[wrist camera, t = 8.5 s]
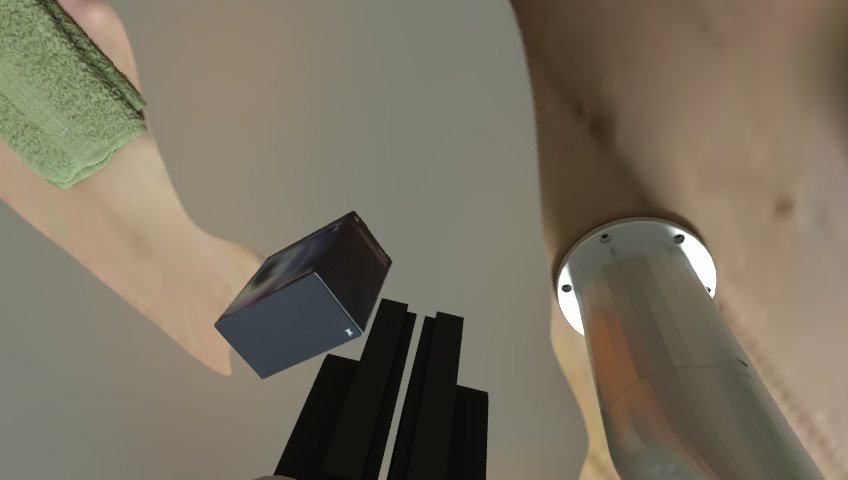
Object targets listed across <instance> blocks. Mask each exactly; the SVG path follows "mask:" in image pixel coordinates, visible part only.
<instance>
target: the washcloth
mask: <svg viewBox="0 0 848 480" xmlns="http://www.w3.org/2000/svg"><path fill="white" fill-rule="evenodd" d="M141 97H142V95H141V94H139V93H138V92H137V91H135V90H134V89H133V88H132V85H130V84H129V83H128V82H127V80H126V79H125V78H124V77H123V76H122V75H120V74H119V73H118V71H116V70H115V68H114V66H113V65H112V64H111V63H110V62H109V61H108V59H107V58H106V57H105V56H103V55H102V53H101V52H100V51H98V50H97V48H96V47H95V46H93V45H92V42H91V41H90V39H89V38H88V37H87V36H85V35H84V33H83V32H82V31H81V29H79V28H78V27H77V25H76V24H74V23H73V21H72V20H71V19H70V18H69V17H68V16H67V15H65V13H64V12H63V11H62V10H61V9H60V8H59V7H58V4H57V3H55V2H54V1H52V0H0V137H1V138H2V139H3V140H4V142H5V143H6V144H7V145H8V146H10V148H11V149H12V150H13V151H14V152H15V153H16V154H17V155H18V156H19V157H20V159H21V160H22V161H23V162H24V163H25V164H26V165H27V166H28V167H30V168H31V169H32V170H33V171H34V172H35V173H37V174H38V175H40V176H42V177H43V178H45V179H46V180H47V181H48V182H49V183H52V184H53V185H54V186H57V187H58V188H61V189H64V190H66V189H67V188H69V187H70V186H72V185H74V183H76V182H77V181H79V180H80V179H83V178H85V177H87V176H88V175H90V174H92V173H94V172H96V171H98V170H99V169H101V168H102V167H104V166H105V164H106V163H108V162H109V160H110V159H111V158H112V156H113V154H114V152H115V151H116V150H118V149H120V148H121V147H122V146H124V145H125V144H126V143H128V142H129V141H131V140H132V139H133V138H135V137H137V136H139V135H141V134H142V133H144V132H146V131H147V127H146V126H145V125H144V124H143V123H144V122H145V121H144V118H143V117H142V116H141V115H140V114H138V113H137V112H138V111H140V110H141V109H142V108H145V107H147V104H146V102H145V101H144V100H143V99H142V98H141Z"/></svg>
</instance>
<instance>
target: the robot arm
mask: <svg viewBox="0 0 848 480" xmlns="http://www.w3.org/2000/svg"><path fill="white" fill-rule="evenodd" d="M604 234H607V235H605V236H602V235H604ZM676 235H677V236H676ZM716 283H717V275H716V267H715V264H714V261H713V258H712V256H711V254H710V253H709V251H708V250H707V248H706V246H705V245H704V244H703V243H702V242H701V240H700V239H699V238H698V237H697V236H696V235H695V234H693V233H692V232H691V231H689V230H688V229H687V228H685V227H683V226H681V225H679V224H677V223H674V222H672V221H668V220H664V219H660V218H654V217H631V218H624V219H620V220H616V221H612V222H609V223H606V224H604V225H602V226H599V227H597V228H595V229H593V230H592V231H590V232H589V233H587V234H586V235H584V236H583V237H582V238H580V239H579V240H578V241H577V242H576V243H575V244H574V245H573V246H572V247H571V248H570V250H569V251H568V252H567V254H566V255H565V256H564V258H563V261H562V263H561V265H560V267H559V270H558V274H557V278H556V293H557V298H558V303H559V306H560V309H561V311H562V314H563V315H564V317H565V318H566V320H567V321H568V323H569V324H570V325H571V326H572V327H573V328H574V329H575V330H576V331H578V332H579V333H581V334H582V335H584V337H585V342H586V346H587V351H588V356H589V360H590V365H591V370H592V375H593V379H594V384H595V389H596V394H597V398H598V403H599V408H600V412H601V417H602V422H603V427H604V431H605V436H606V440H607V445H608V450H609V453H610V457H611V460H612V463H613V465H614V468H615V470H616V472H617V474H618V476H619V477H620V479H621V480H826V479H825V478H824V476H823V475H822V474H821V472H820V471H819V469H818V467H817V466H816V464H815V463H814V461H813V460H812V458H811V457H810V455H809V454H808V452H807V451H806V449H805V448H804V446H803V445H802V443H801V442H800V440H799V439H798V437H797V436H796V434H795V433H794V431H793V430H792V428H791V427H790V425H789V423H788V422H787V420H786V419H785V417H784V415H783V414H782V412H781V410H780V409H779V407H778V406H777V404H776V402H775V401H774V399H773V397H772V396H771V394H770V393H769V391H768V389H767V388H766V386H765V384H764V383H763V381H762V379H761V378H760V376H759V374H758V373H757V371H756V369H755V368H754V366H753V365H752V363H751V361H750V360H749V358H748V356H747V355H746V353H745V351H744V350H743V348H742V346H741V345H740V343H739V341H738V340H737V338H736V336H735V335H734V333H733V332H732V330H731V328H730V327H729V325H728V323H727V322H726V320H725V318H724V317H723V315H722V313H721V312H720V310H719V308H718V307H717V305H716V303H715V302H714V300H713V296H714V294H715V289H716ZM565 284H566V285H565ZM407 309H408V304H405V303H400V302H396V301H392V300H388V299H383V298H382V300H381V302H380V305H379V308H378V311H377V314H376V316H375V319H374V322H373V325H372V328H371V331H370V333H369V336H368V339H367V342H366V344H365V347H364V350H363V353H362V356H361V359H360V361H357V360H353V359H348V358H344V357H340V356H336V355H332V354H328V355H327V356H326V358H325V359H324V361H323V364H322V366H321V368H320V370H319V373H318V375H317V377H316V379H315V382H314V384H313V386H312V389H311V391H310V393H309V395H308V398H307V400H306V402H305V404H304V407H303V409H302V411H301V414H300V416H299V418H298V420H297V422H296V425H295V427H294V429H293V431H292V434H291V436H290V438H289V440H288V443H287V445H286V447H285V450H284V452H283V454H282V456H281V459H280V461H279V463H278V465H277V468H276V470H275V472H274V474H273V476H263V477H260V478H257V479H254V480H378V477H379V472H380V468H381V464H382V459H383V456H384V452H385V447H386V443H387V439H388V435H389V431H390V427H391V422H392V418H393V414H394V409H395V405H396V401H397V397H398V392H399V388H400V384H401V380H402V375H403V371H404V367H405V363H406V358H407V354H408V349H409V346H410V341H411V337H412V332H413V328H414V324H415V320H416V315H417V314H415V313H411V312H407ZM463 321H464V318H463V317H459V316H455V315H450V314H447V313H442V312H437V314H436V317H435V318H432V317H428V316H425V319H424V323H423V327H422V331H421V336H420V340H419V344H418V348H417V352H416V356H415V360H414V364H413V368H412V372H411V377H410V380H409V384H408V389H407V393H406V397H405V401H404V405H403V409H402V413H401V418H400V422H399V426H398V431H397V436H396V440H395V445H394V449H393V453H392V458H391V462H390V467H389V471H388V476H387V480H486V459H487V430H488V393H487V392H484V391H480V390H476V389H472V388H468V387H464V386H460V385H457V375H458V367H459V358H460V348H461V340H462V330H463Z"/></svg>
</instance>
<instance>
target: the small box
mask: <svg viewBox="0 0 848 480" xmlns="http://www.w3.org/2000/svg"><path fill="white" fill-rule="evenodd" d="M391 265H392V261H391V259H390V257H389V256H388V255H387V254H386V253H385V252H384V250H383V249H382V248H381V246H380V245H379V243H378V242H377V241H376V239H375V238H374V236H373V235H372V234H371V232H370V231H369V230H368V227H367V226H366V224H365V223H364V222H363V221H362V220H361V218H360V217H359V216H358V215H357V213H356V212H355V211H352V212H350V213H348V214H346V215H345V216H343V217H341V218H339V219H337V220H335V221H334V222H332V223H330V224H328V225H327V226H325V227H323V228H321V229H319V230H317V231H316V232H314V233H312V234H310V235H308V236H306V237H304V238H303V239H301V240H299V241H297V242H295V243H294V244H292V245H290V246H288V247H287V248H285V249H283V250H281V251H279V252H277V253H275V254H274V255H272V256H270V257H268V258H267V259H266V261H265V262H264V263H263V264H262V266H261V267H260V268H259V270H258V271H257V272H256V273H255V275H254V276H253V277H252V278H251V279H250V281H249V282H248V283H247V285H246V286H245V287H244V288H243V290H242V291H241V292H240V293H239V295H238V296H237V297H236V298H235V299H234V301H233V302H232V303H231V304H230V306H229V307H228V308H227V309H226V311H225V312H224V313H223V314H222V315H221V317H220V318H219V319H218V321H217V322H216V323H215V324H214V326H215V328H216V329H217V330H218V331H219V332H220V334H221V335H222V336H223V337H224V338H225V339H226V340H227V341H228V342H229V343H230V345H231V346H232V347H233V348H234V349H235V350H236V351H237V352H238V353H239V354H240V355H241V356H242V358H243V359H244V360H245V361H246V362H247V363H248V364H249V365H250V366H251V367H252V368H253V370H254V371H255V372H256V373H257V374H258V375H259V376H260V377H261V378H262V379H265V378H267V377H269V376H272V375H274V374H276V373H278V372H281V371H283V370H285V369H287V368H290V367H292V366H295V365H297V364H299V363H301V362H304V361H306V360H308V359H310V358H313V357H315V356H317V355H320V354H322V353H324V352H326V351H329V350H331V349H333V348H336V347H338V346H340V345H342V344H344V343H347V342H349V341H351V340H353V339H356V338H358V337H361V336H363V335H364V331H365V329H366V326H367V324H368V321H369V319H370V316H371V314H372V311H373V309H374V306H375V304H376V301H377V299H378V295H379V293H380V291H381V288H382V285H383V283H384V280H385V278H386V276H387V274H388V272H389V269H390V267H391Z"/></svg>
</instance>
